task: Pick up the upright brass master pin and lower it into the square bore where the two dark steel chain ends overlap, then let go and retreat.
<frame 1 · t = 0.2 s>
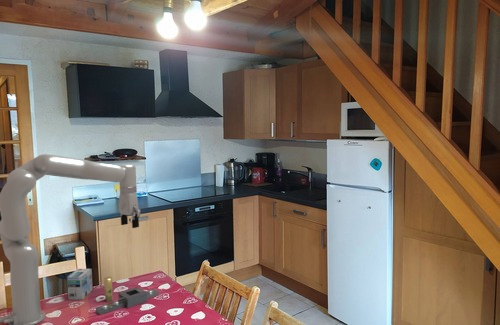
hand: (129, 226, 177), 30 cm above the table, fingers open, 9 cm apart
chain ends: (133, 301, 165), on the table
brass pin: (109, 300, 166), on the table
light bulb box: (80, 295, 173), on the table
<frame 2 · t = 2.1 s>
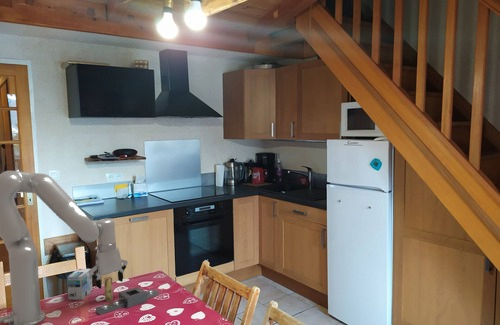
hand: (110, 284, 166), 7 cm above the table, fingers open, 9 cm apart
nothing on the table moved.
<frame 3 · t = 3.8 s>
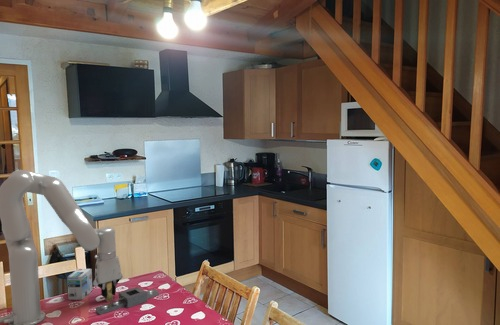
hand: (108, 295, 166), 2 cm above the table, fingers closed on brass pin, 3 cm apart
brass pin: (109, 300, 166), on the table, touching gripper
everything else where it was.
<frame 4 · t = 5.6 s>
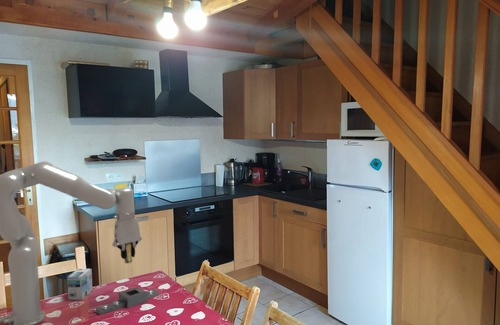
hand: (128, 257, 164), 20 cm above the table, fingers closed on brass pin, 3 cm apart
brass pin: (128, 262, 164), point 18 cm above the table, touching gripper
everything else where it was.
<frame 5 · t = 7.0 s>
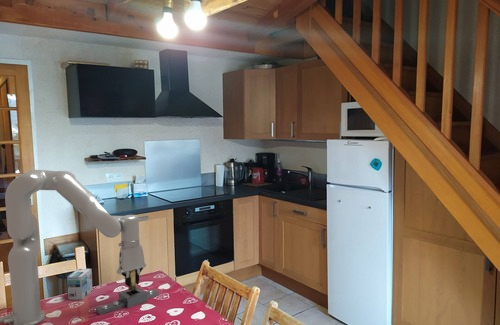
hand: (132, 284, 164), 8 cm above the table, fingers closed on brass pin, 3 cm apart
brass pin: (132, 288, 164), point 6 cm above the table, touching gripper
everything else where it was.
when the fingers open (5 cm above the table, at t = 7.8 s): brass pin drops 2 cm, resting in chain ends.
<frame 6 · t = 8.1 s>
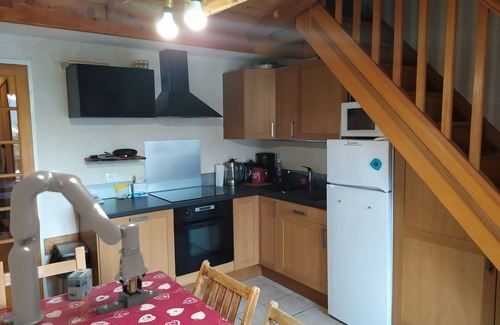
hand: (132, 290, 164), 5 cm above the table, fingers open, 5 cm apart
brass pin: (132, 301, 165), resting in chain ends
everything else where it was.
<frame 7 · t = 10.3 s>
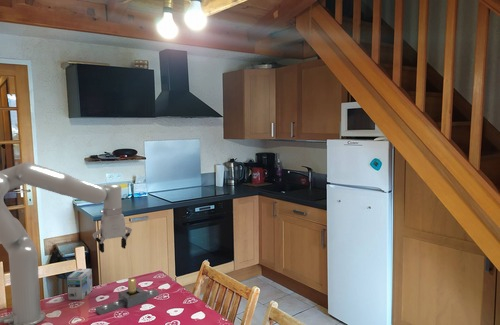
hand: (112, 249, 167), 22 cm above the table, fingers open, 9 cm apart
nothing on the table moved.
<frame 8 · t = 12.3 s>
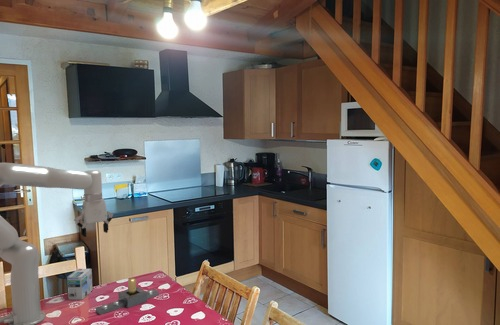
hand: (95, 234, 171), 28 cm above the table, fingers open, 9 cm apart
nothing on the table moved.
at the end: brass pin 0.1 cm off-centre on the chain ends, point 0.0 cm above the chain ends's base; brass pin tilted 0°; the gripper is holding nothing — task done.
